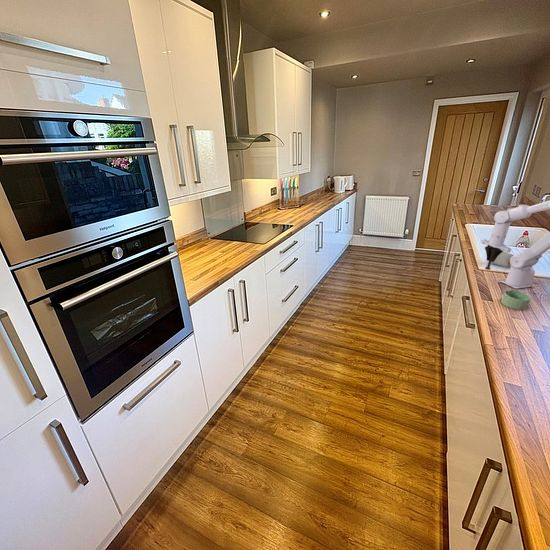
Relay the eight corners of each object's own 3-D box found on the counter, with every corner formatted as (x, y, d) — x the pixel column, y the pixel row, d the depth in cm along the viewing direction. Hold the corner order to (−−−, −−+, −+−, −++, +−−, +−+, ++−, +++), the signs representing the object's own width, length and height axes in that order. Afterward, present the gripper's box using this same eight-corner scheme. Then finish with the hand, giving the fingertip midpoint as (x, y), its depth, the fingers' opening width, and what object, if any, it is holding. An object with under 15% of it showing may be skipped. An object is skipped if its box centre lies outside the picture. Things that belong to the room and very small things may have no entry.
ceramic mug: (507, 269, 152) (512, 256, 149) (490, 264, 158) (494, 251, 155) (514, 264, 158) (519, 251, 155) (497, 260, 164) (502, 247, 161)
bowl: (512, 297, 127) (515, 288, 125) (532, 308, 119) (536, 298, 117) (495, 300, 125) (499, 291, 123) (515, 311, 117) (519, 301, 115)
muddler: (487, 267, 150) (493, 251, 146) (491, 269, 148) (496, 252, 144) (484, 268, 149) (489, 251, 145) (487, 270, 147) (493, 253, 143)
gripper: (519, 239, 135) (510, 265, 141) (492, 230, 148) (484, 255, 154) (507, 240, 134) (498, 267, 140) (480, 231, 147) (473, 256, 152)
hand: (490, 261), depth 147 cm, fingers closed on muddler, 1 cm apart
